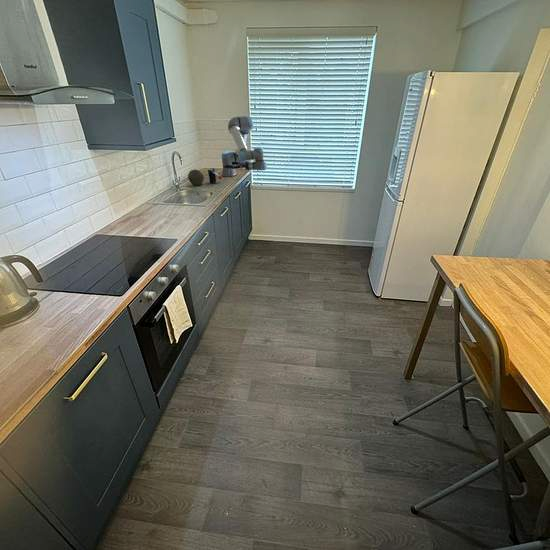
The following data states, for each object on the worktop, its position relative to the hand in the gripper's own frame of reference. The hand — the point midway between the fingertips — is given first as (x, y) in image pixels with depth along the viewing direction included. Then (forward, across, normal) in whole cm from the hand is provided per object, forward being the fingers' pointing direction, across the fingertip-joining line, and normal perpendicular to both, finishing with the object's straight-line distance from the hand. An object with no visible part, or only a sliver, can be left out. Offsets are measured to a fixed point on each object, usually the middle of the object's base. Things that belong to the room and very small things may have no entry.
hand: (228, 164), depth 272 cm
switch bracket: (+18, -2, -18) cm, 26 cm away
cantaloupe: (+29, -13, -18) cm, 37 cm away
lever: (+15, -2, -10) cm, 18 cm away
